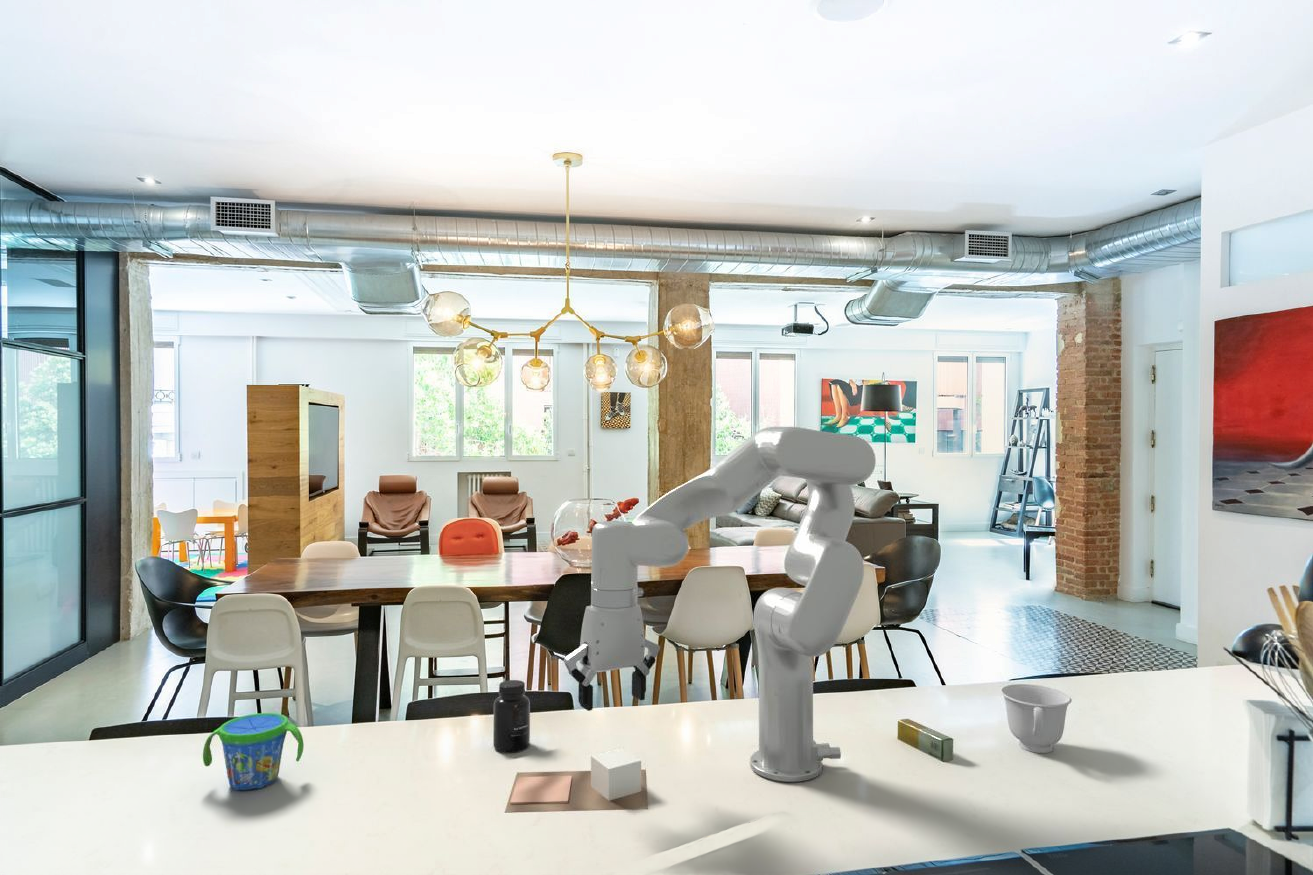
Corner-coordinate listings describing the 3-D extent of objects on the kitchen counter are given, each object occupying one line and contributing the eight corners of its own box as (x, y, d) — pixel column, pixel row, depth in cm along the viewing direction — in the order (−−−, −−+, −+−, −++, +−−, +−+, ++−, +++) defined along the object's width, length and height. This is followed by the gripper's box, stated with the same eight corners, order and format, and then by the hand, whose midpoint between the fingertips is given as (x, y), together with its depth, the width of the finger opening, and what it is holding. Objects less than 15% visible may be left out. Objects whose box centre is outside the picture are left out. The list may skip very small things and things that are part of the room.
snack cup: (313, 767, 140) (312, 711, 140) (287, 795, 130) (287, 733, 130) (223, 769, 139) (222, 712, 139) (190, 797, 129) (190, 735, 129)
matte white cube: (622, 777, 132) (622, 747, 132) (641, 791, 127) (641, 760, 127) (591, 786, 129) (590, 755, 129) (608, 800, 124) (608, 769, 124)
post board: (645, 778, 135) (645, 747, 135) (648, 818, 121) (647, 784, 121) (517, 781, 134) (516, 750, 134) (504, 821, 120) (504, 787, 120)
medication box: (954, 760, 142) (954, 738, 142) (943, 763, 141) (943, 740, 141) (906, 737, 153) (907, 716, 153) (896, 739, 152) (896, 718, 152)
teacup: (1002, 760, 142) (1001, 705, 142) (999, 731, 155) (999, 680, 155) (1077, 771, 137) (1077, 714, 137) (1068, 739, 151) (1067, 688, 151)
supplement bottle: (522, 755, 145) (521, 690, 145) (487, 752, 147) (487, 688, 146) (535, 740, 152) (534, 678, 152) (502, 738, 153) (501, 676, 153)
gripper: (647, 588, 136) (645, 687, 136) (555, 598, 126) (554, 705, 126) (671, 596, 129) (669, 700, 129) (576, 607, 120) (575, 719, 120)
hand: (612, 702), depth 128 cm, fingers open, 9 cm apart
